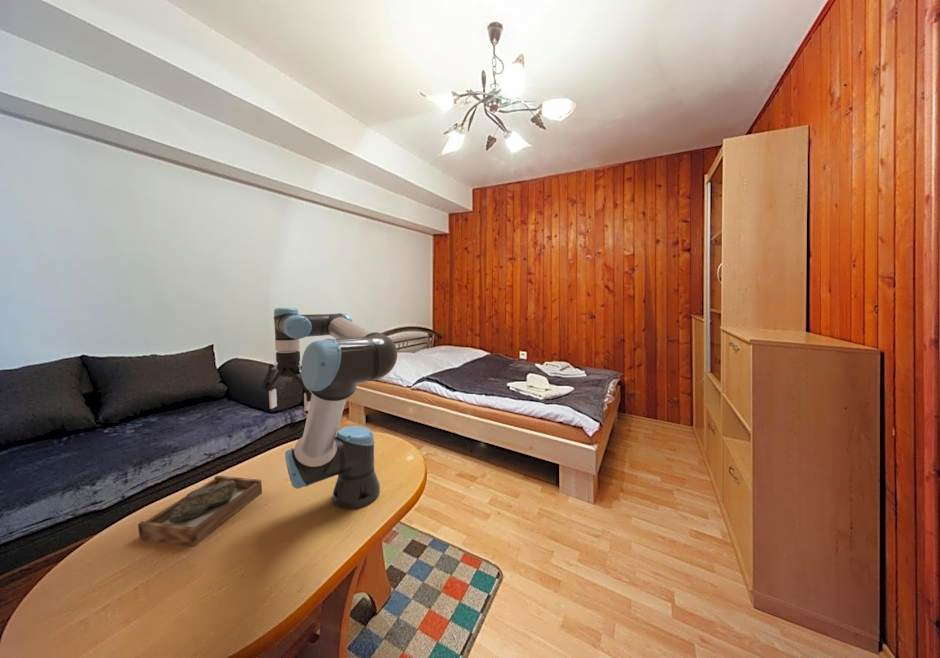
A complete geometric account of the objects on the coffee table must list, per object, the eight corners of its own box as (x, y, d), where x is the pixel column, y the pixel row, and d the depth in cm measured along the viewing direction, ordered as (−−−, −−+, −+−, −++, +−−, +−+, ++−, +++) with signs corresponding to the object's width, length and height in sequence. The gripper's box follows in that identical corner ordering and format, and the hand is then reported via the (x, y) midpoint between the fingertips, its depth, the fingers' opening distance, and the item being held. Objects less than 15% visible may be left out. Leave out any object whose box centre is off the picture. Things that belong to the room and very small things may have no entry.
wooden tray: (262, 493, 110) (261, 479, 110) (193, 546, 87) (192, 530, 86) (217, 488, 112) (217, 475, 112) (139, 539, 89) (138, 523, 88)
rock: (228, 476, 109) (241, 477, 104) (231, 496, 109) (244, 498, 104) (161, 501, 95) (172, 504, 90) (163, 524, 94) (175, 529, 89)
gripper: (326, 350, 117) (328, 406, 119) (264, 348, 120) (267, 403, 122) (314, 354, 109) (316, 414, 112) (247, 351, 113) (251, 410, 115)
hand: (290, 408), depth 117 cm, fingers open, 13 cm apart
